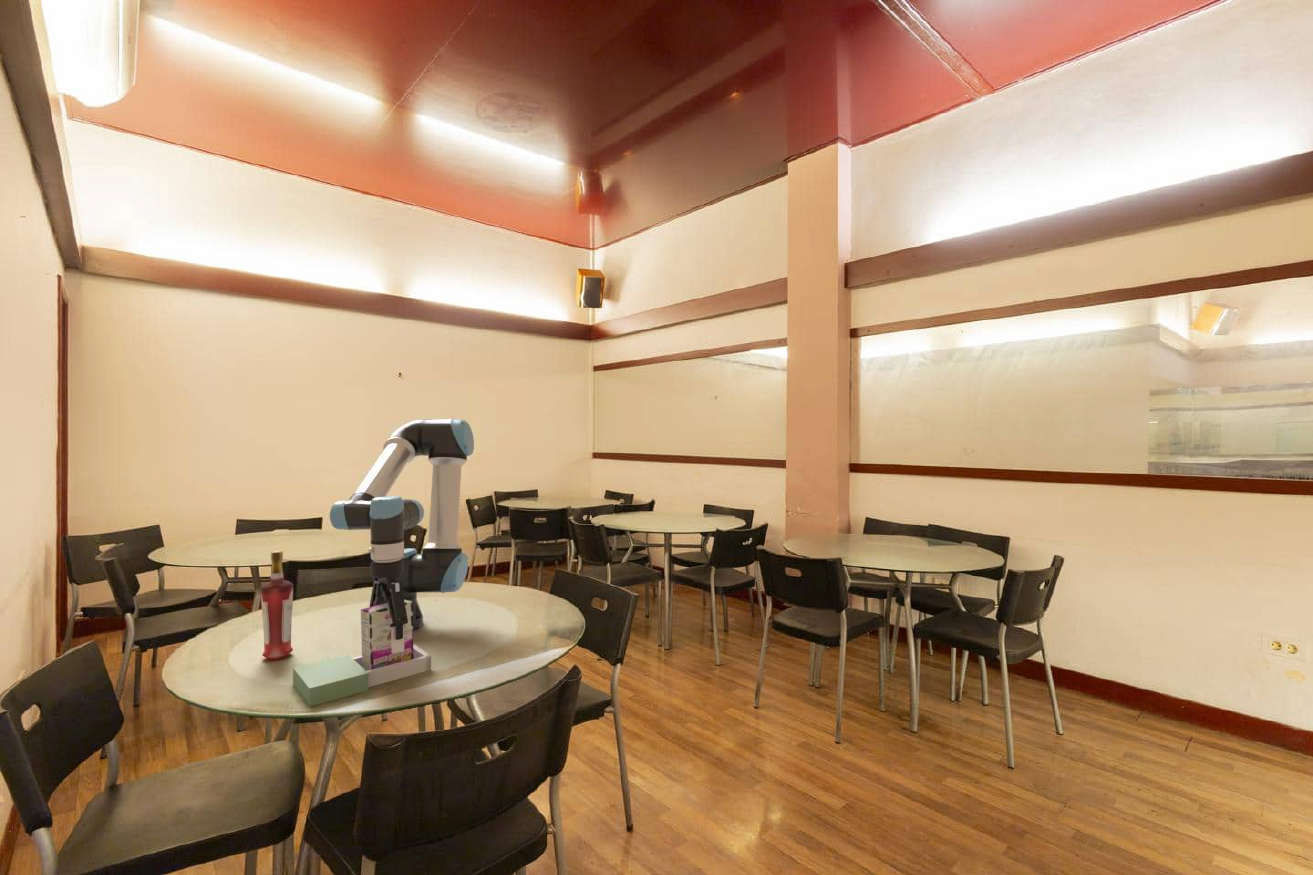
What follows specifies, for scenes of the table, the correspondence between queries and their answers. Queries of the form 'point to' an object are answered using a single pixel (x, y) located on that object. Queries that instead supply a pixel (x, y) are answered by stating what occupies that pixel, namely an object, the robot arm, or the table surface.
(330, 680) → the sliding drawer box
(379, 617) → the candy bar box
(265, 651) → the liquor
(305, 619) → the table surface
